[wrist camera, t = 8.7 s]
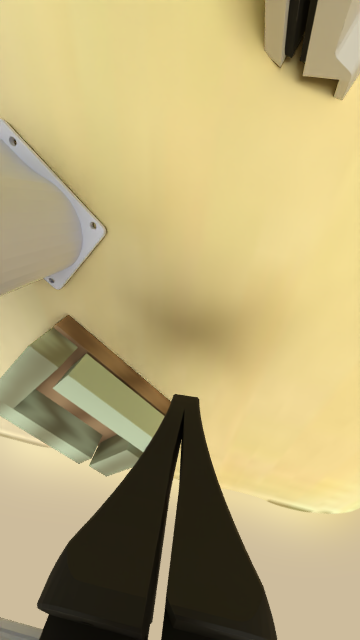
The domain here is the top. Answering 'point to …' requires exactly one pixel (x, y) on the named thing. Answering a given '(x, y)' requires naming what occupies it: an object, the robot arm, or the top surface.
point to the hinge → (316, 37)
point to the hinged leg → (110, 401)
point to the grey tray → (60, 413)
